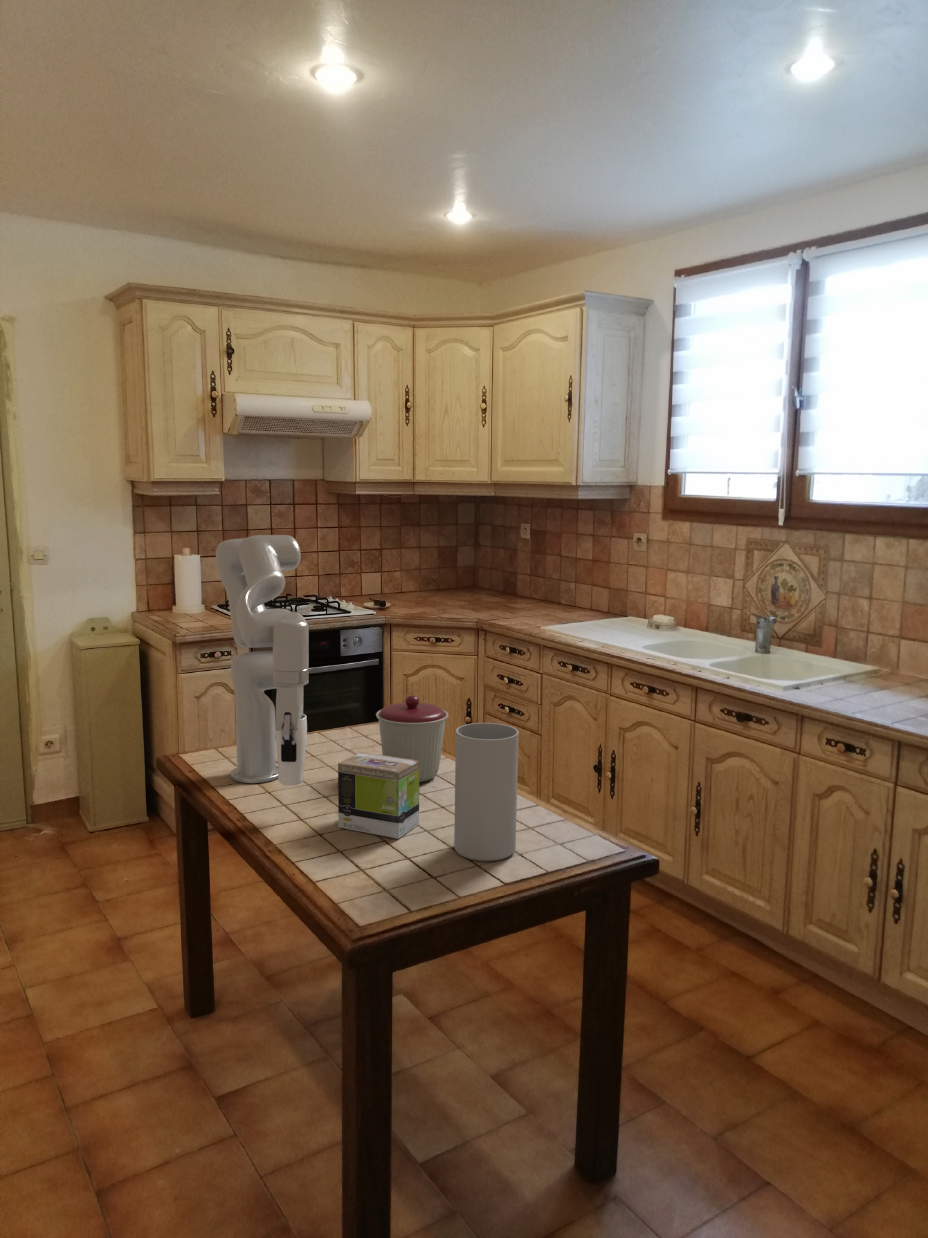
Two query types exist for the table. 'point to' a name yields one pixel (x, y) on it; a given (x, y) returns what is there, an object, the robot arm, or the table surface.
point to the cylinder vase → (486, 791)
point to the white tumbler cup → (295, 770)
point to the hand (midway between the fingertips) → (291, 755)
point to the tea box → (378, 794)
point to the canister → (413, 733)
